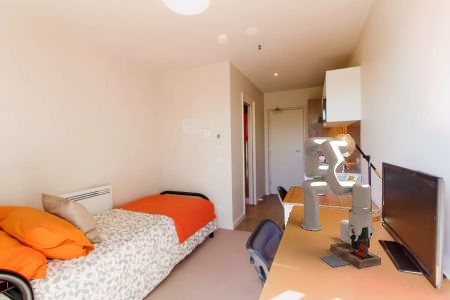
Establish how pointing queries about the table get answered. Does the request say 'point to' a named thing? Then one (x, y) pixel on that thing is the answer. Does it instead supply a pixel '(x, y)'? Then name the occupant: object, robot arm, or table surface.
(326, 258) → the mat
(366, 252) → the deodorant
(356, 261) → the well board
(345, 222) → the photo printer
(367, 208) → the robot arm
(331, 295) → the table surface
